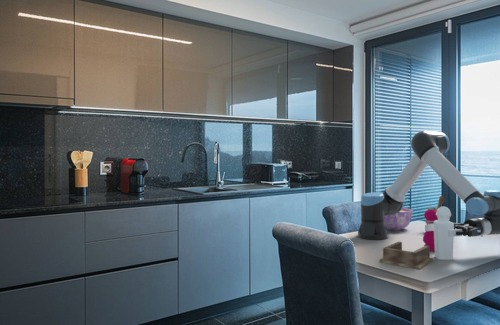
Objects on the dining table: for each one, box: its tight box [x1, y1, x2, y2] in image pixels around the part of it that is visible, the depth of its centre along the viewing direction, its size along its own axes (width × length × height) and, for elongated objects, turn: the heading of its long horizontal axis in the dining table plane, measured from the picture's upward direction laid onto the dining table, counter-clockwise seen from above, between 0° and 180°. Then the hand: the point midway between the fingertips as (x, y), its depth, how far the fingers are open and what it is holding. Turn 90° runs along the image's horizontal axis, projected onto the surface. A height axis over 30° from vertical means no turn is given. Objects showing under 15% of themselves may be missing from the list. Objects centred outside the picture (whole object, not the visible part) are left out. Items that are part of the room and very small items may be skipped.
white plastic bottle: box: [434, 206, 454, 261], centre depth 167 cm, size 6×6×22 cm
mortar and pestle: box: [427, 195, 446, 220], centre depth 225 cm, size 12×9×20 cm
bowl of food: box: [384, 207, 414, 231], centre depth 233 cm, size 20×20×12 cm
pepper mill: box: [422, 206, 438, 252], centre depth 182 cm, size 7×7×20 cm
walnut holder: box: [379, 241, 434, 270], centre depth 162 cm, size 16×16×6 cm
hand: (436, 230), depth 165 cm, fingers open, 12 cm apart
